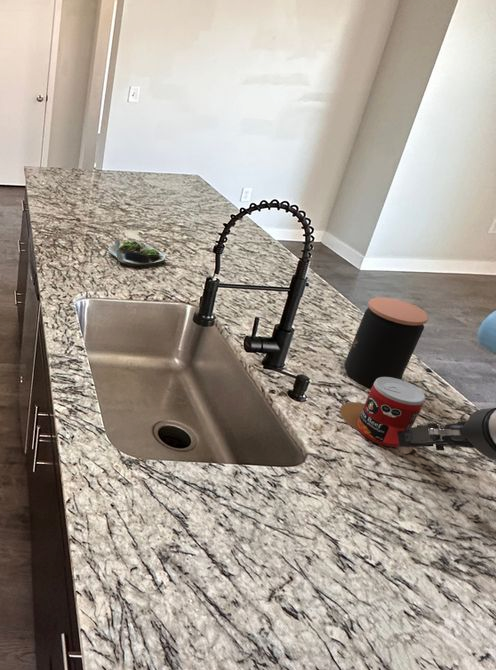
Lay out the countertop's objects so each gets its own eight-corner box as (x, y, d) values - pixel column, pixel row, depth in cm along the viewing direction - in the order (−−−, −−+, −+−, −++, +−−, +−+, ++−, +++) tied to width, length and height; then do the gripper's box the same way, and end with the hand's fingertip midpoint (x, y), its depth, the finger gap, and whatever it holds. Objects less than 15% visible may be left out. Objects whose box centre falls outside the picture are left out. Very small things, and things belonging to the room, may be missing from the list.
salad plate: (94, 246, 186) (96, 234, 184) (139, 242, 191) (141, 230, 189) (123, 270, 170) (125, 257, 168) (171, 264, 175) (174, 251, 173)
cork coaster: (398, 413, 111) (398, 413, 111) (408, 447, 103) (409, 447, 103) (337, 396, 116) (337, 396, 116) (342, 428, 107) (342, 427, 107)
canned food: (347, 419, 109) (366, 375, 104) (387, 421, 109) (407, 377, 104) (370, 446, 102) (391, 401, 98) (413, 449, 102) (436, 403, 97)
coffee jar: (365, 360, 129) (392, 294, 121) (409, 387, 120) (441, 318, 112) (331, 367, 126) (357, 300, 118) (374, 395, 117) (405, 325, 109)
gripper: (470, 455, 77) (368, 456, 99) (569, 466, 76) (443, 464, 98) (460, 402, 79) (363, 414, 101) (556, 411, 78) (436, 421, 100)
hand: (402, 439), depth 100 cm, fingers closed
